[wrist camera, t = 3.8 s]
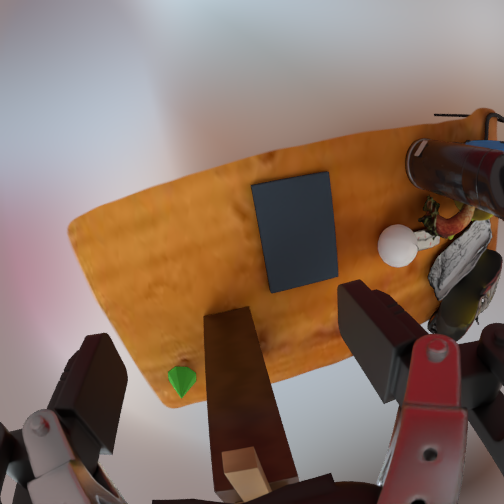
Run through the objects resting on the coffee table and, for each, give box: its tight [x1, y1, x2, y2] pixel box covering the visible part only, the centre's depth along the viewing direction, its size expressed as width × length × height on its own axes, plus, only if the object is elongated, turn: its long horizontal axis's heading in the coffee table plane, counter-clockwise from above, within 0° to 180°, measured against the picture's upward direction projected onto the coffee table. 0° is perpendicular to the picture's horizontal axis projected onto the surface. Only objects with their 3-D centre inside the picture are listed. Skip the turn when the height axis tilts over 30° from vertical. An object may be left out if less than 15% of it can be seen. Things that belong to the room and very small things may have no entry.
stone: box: [428, 219, 492, 300], centre depth 53 cm, size 22×3×10 cm
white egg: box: [378, 224, 419, 267], centre depth 48 cm, size 10×7×7 cm
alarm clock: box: [465, 140, 504, 151], centre depth 40 cm, size 13×6×15 cm, turn 104°
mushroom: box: [418, 196, 493, 240], centre depth 45 cm, size 12×12×15 cm
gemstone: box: [168, 367, 196, 399], centre depth 52 cm, size 6×6×6 cm
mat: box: [251, 171, 338, 294], centre depth 47 cm, size 12×18×1 cm, turn 10°
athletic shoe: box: [436, 249, 502, 342], centre depth 55 cm, size 12×25×12 cm
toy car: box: [428, 311, 438, 334], centre depth 60 cm, size 6×12×4 cm, turn 61°
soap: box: [413, 230, 440, 251], centre depth 52 cm, size 10×4×1 cm, turn 96°
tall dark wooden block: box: [204, 307, 299, 504], centre depth 39 cm, size 8×12×32 cm, turn 10°
